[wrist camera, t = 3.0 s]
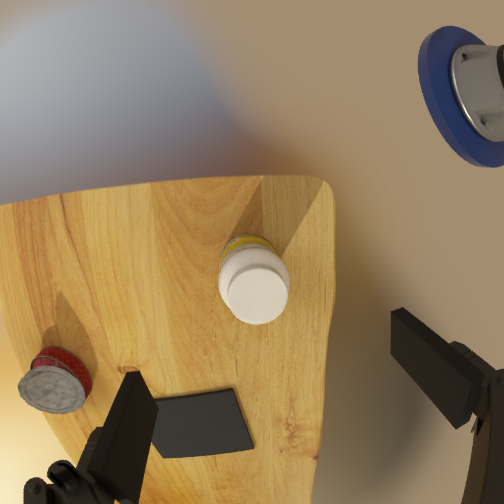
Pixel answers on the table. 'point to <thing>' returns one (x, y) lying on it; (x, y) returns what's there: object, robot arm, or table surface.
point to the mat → (200, 425)
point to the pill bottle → (253, 279)
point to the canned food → (56, 382)
